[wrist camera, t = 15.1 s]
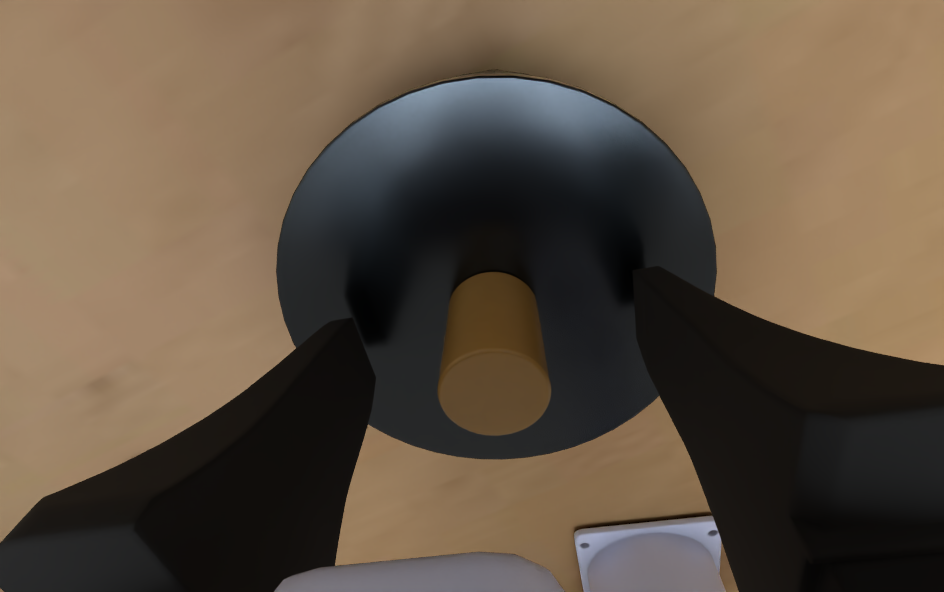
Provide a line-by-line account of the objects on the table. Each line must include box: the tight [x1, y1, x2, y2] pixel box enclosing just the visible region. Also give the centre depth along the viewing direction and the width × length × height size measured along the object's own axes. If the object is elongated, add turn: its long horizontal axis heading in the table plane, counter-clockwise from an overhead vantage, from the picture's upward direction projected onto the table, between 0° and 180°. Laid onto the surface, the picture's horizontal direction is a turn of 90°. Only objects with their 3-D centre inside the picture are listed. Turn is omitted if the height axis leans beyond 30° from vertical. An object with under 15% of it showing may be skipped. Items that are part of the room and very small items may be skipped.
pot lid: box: [276, 73, 717, 459], centre depth 12 cm, size 12×12×4 cm
